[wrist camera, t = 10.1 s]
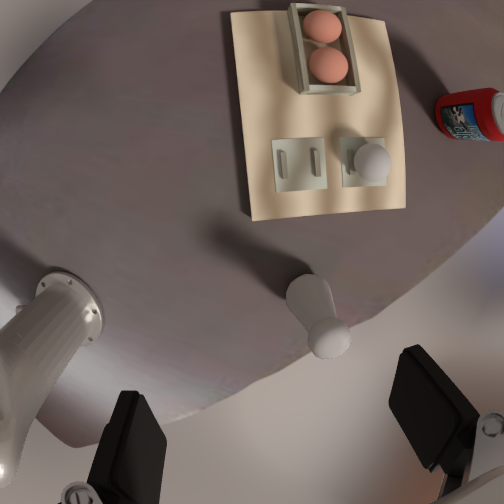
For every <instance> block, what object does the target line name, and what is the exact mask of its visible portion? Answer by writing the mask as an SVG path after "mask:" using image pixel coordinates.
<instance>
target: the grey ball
mask: <svg viewBox="0 0 504 504" xmlns="http://www.w3.org/2000/svg"><path fill="white" fill-rule="evenodd" d="M354 167H355V169H356V171H357V173H358V174H359V175H360V176H361V177H362V178H363V179H365V180H367V181H371V182H377V181H381V180H383V179H384V178H385V177H386V176H387V175H388V174H389V172H390V170H391V158H390V155H389V153H388V152H387V151H386V149H384V148H383V147H382V146H380V145H378V144H373V143H369V144H365V145H363V146H361V147H360V148H359V149H358V150H357V152H356V153H355V156H354Z"/></svg>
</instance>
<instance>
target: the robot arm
mask: <svg viewBox="0 0 504 504" xmlns="http://www.w3.org/2000/svg"><path fill="white" fill-rule="evenodd" d="M103 323H104V319H103V312H102V309H101V306H100V304H99V302H98V299H97V298H96V296H95V295H94V293H93V292H92V290H91V289H90V288H89V287H88V286H87V285H86V284H85V283H84V282H83V281H82V280H80V279H79V278H77V277H76V276H74V275H72V274H70V273H67V272H62V271H55V272H51V273H49V274H48V275H46V276H45V277H44V278H42V279H41V281H40V282H39V284H38V286H37V289H36V297H35V298H34V299H33V300H32V301H31V302H30V303H29V304H27V305H18V306H17V307H16V315H15V316H14V317H13V318H12V319H11V320H10V321H9V322H8V323H7V324H6V325H4V326H3V327H2V328H1V329H0V489H1V488H4V487H6V486H7V485H9V483H10V482H11V481H12V480H13V479H14V477H15V475H16V473H17V470H18V467H19V464H20V460H21V456H22V452H23V448H24V444H25V441H26V437H27V434H28V432H29V429H30V427H31V424H32V422H33V420H34V418H35V416H36V414H37V413H38V411H39V409H40V407H41V405H42V404H43V402H44V400H45V399H46V397H47V396H48V394H49V392H50V391H51V389H52V388H53V386H54V384H55V383H56V381H57V380H58V378H59V377H60V375H61V374H62V372H63V371H64V369H65V367H66V366H67V364H68V363H69V361H70V360H71V359H72V357H73V356H74V354H75V353H76V351H77V350H78V348H79V347H80V346H87V345H90V344H92V343H94V342H95V341H96V340H97V339H98V337H99V336H100V334H101V332H102V329H103ZM389 407H390V409H391V411H392V413H393V414H394V416H395V418H396V419H397V421H398V423H399V425H400V426H401V428H402V430H403V432H404V433H405V435H406V437H407V439H408V440H409V442H410V444H411V446H412V447H413V449H414V451H415V453H416V455H417V456H418V458H419V460H420V462H421V463H422V465H423V467H424V468H425V469H429V471H430V473H432V472H434V471H436V470H438V469H440V468H442V469H443V471H444V473H445V474H444V477H443V481H442V484H441V488H440V491H439V494H438V497H437V500H436V501H434V502H432V503H430V504H504V413H502V412H501V411H498V410H488V411H486V412H484V413H483V414H481V416H480V415H479V413H478V412H477V410H476V409H475V408H474V407H473V406H472V404H471V403H470V402H469V401H468V399H467V398H466V397H465V396H464V395H463V394H462V392H461V391H460V390H459V389H458V388H457V386H456V385H455V384H454V383H453V382H452V381H451V379H450V378H449V377H448V376H447V375H446V374H445V373H444V371H443V370H442V369H441V368H440V367H439V366H438V365H437V363H436V362H435V361H434V360H433V359H432V358H431V357H430V356H429V355H428V353H426V351H425V350H424V349H423V348H422V347H421V346H420V345H418V344H417V345H414V346H411V347H408V348H405V349H404V350H403V353H401V354H400V356H399V361H398V365H397V370H396V374H395V378H394V382H393V386H392V390H391V394H390V397H389ZM166 447H167V440H166V437H165V435H164V433H163V432H162V430H161V428H160V426H159V424H158V422H157V420H156V419H155V417H154V415H153V413H152V411H151V409H150V407H149V405H148V403H147V401H146V399H145V397H144V396H143V395H142V394H139V392H138V391H121V393H120V395H119V397H118V400H117V403H116V405H115V408H114V411H113V414H112V416H111V419H110V422H109V423H108V424H107V425H106V426H105V428H104V431H103V433H102V436H101V439H100V442H99V445H98V448H97V451H96V454H95V457H94V460H93V463H92V467H91V470H90V473H89V476H88V479H87V483H84V482H73V483H70V484H69V485H67V486H66V487H65V488H64V489H63V492H62V494H61V502H60V503H58V504H159V499H160V491H161V483H162V475H163V468H164V460H165V454H166Z"/></svg>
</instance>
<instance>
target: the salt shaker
mask: <svg viewBox="0 0 504 504" xmlns="http://www.w3.org/2000/svg"><path fill="white" fill-rule="evenodd" d="M286 304H287V306H288V307H289V309H290V310H291V312H292V313H293V314H294V315H295V317H296V318H297V319H298V320H299V321H300V323H301V324H302V325H303V326H304V327H305V329H306V330H307V331H308V345H309V348H310V349H311V351H312V352H313V354H314V355H315V356H316V357H319V358H321V359H333V358H336V357H338V356H340V355H341V354H342V353H344V352H345V351H346V350H347V348H348V347H349V345H350V343H351V333H350V330H349V328H348V326H347V324H346V323H345V322H344V321H342V320H340V319H338V318H337V315H336V311H335V307H334V302H333V298H332V294H331V290H330V287H329V285H328V283H327V281H326V280H324V279H323V278H321V277H319V276H318V275H312V274H303V275H301V276H300V277H298V278H296V279H294V280H293V281H292V282H291V283H290V285H289V287H288V289H287V292H286Z"/></svg>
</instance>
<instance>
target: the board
mask: <svg viewBox="0 0 504 504" xmlns="http://www.w3.org/2000/svg"><path fill="white" fill-rule="evenodd" d="M315 10H326V11H329V12H331V13H333V14H334V15H335V16H336V17H337V18H338V19H339V20H340V22H341V26H342V31H341V34H340V36H339V37H338V38H337V39H336V40H335V41H333V42H330V43H318V42H315V41H313V40H312V39H310V38H309V37H308V36H307V35H306V33H305V32H304V29H303V21H304V19H305V17H306V16H307V15H308V14H309V13H310V12H312V11H315ZM231 25H232V35H233V44H234V53H235V63H236V72H237V81H238V91H239V100H240V110H241V119H242V129H243V139H244V148H245V158H246V168H247V177H248V187H249V197H250V206H251V216H252V221H258V220H268V219H278V218H288V217H298V216H308V215H319V214H331V213H342V212H355V211H368V210H381V209H396V208H405V204H406V186H405V155H404V139H403V127H402V117H401V108H400V100H399V93H398V86H397V80H396V74H395V68H394V63H393V58H392V53H391V48H390V43H389V39H388V35H387V31H386V27H385V23H384V21H379V20H374V19H368V18H362V17H356V16H349V15H347V13H346V9H345V7H338V6H329V5H319V4H304V3H290V6H289V8H288V11H248V12H234V13H231ZM322 47H331V48H335V49H337V50H339V51H340V52H341V53H342V54H343V55H344V56H345V57H346V59H347V62H348V71H347V74H346V76H345V77H344V78H343V79H342V80H340V81H338V82H336V83H324V82H321V81H319V80H318V79H316V78H315V77H314V76H313V75H312V73H311V72H310V70H309V65H308V62H309V58H310V56H311V54H312V53H313V52H314V51H315V50H317V49H319V48H322ZM369 143H373V144H378V145H380V146H382V147H383V148H384V149H386V151H387V152H388V153H389V155H390V158H391V170H390V172H389V174H388V175H387V176H386V177H385V178H384V179H383V180H381V181H377V182H371V181H367V180H365V179H363V178H362V177H361V176H360V175H359V174H358V173H357V171H356V169H355V167H354V156H355V153H356V152H357V150H358V149H359V148H360V147H361V146H363V145H365V144H369Z"/></svg>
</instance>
